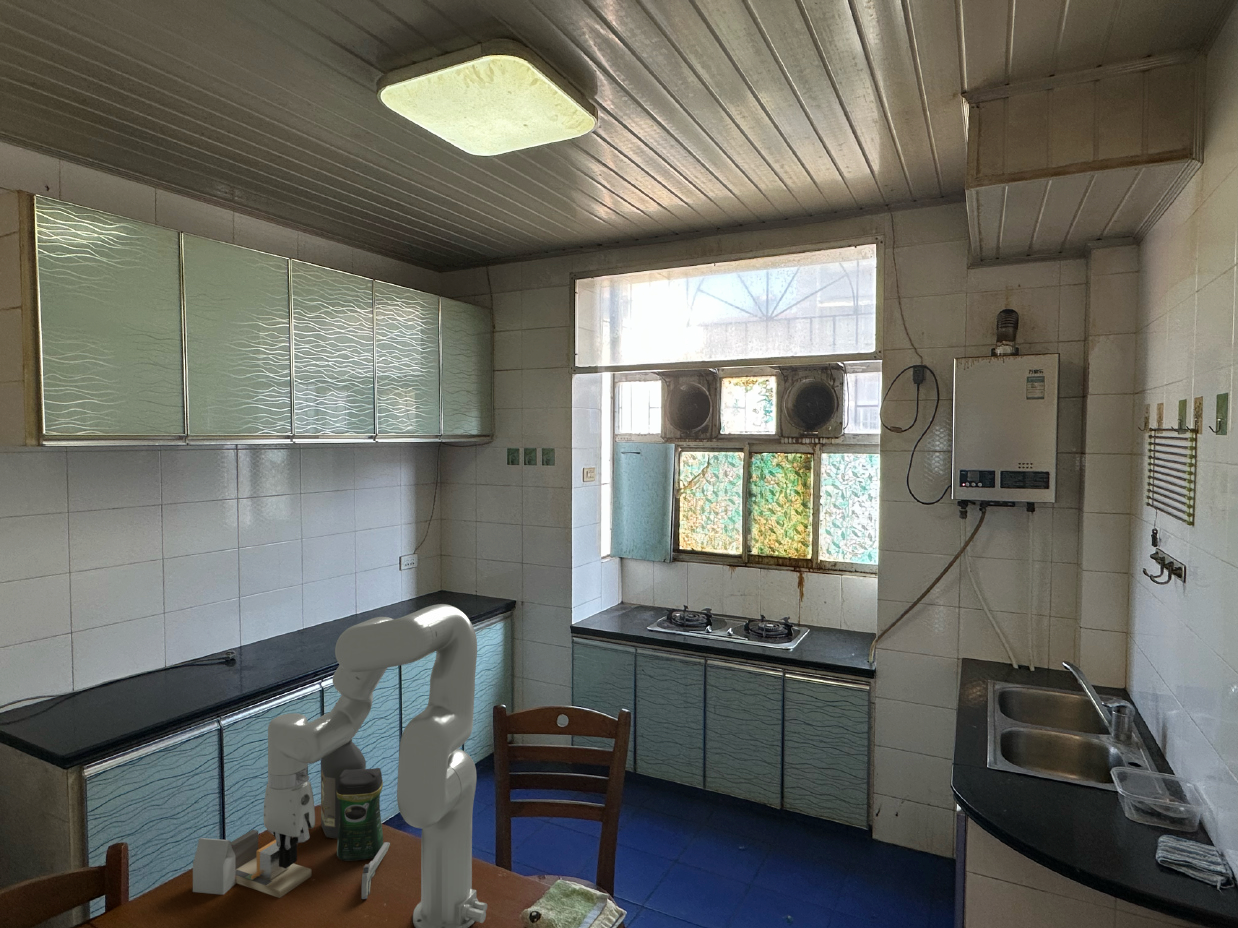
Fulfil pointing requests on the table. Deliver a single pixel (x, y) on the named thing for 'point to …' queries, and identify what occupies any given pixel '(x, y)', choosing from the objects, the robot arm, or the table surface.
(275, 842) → the orange rectangular slab
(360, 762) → the liquor
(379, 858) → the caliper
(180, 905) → the table surface
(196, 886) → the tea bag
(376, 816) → the coffee jar
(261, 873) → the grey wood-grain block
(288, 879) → the board
